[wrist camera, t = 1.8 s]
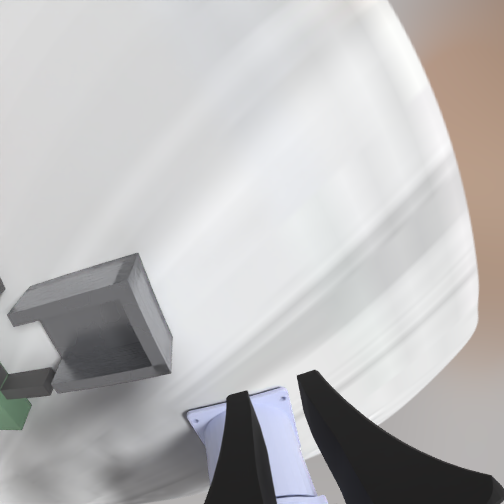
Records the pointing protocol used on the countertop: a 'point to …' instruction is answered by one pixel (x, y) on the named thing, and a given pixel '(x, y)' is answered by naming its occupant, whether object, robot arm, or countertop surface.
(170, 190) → the countertop surface
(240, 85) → the countertop surface
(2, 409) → the green pronged block
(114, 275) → the chute
